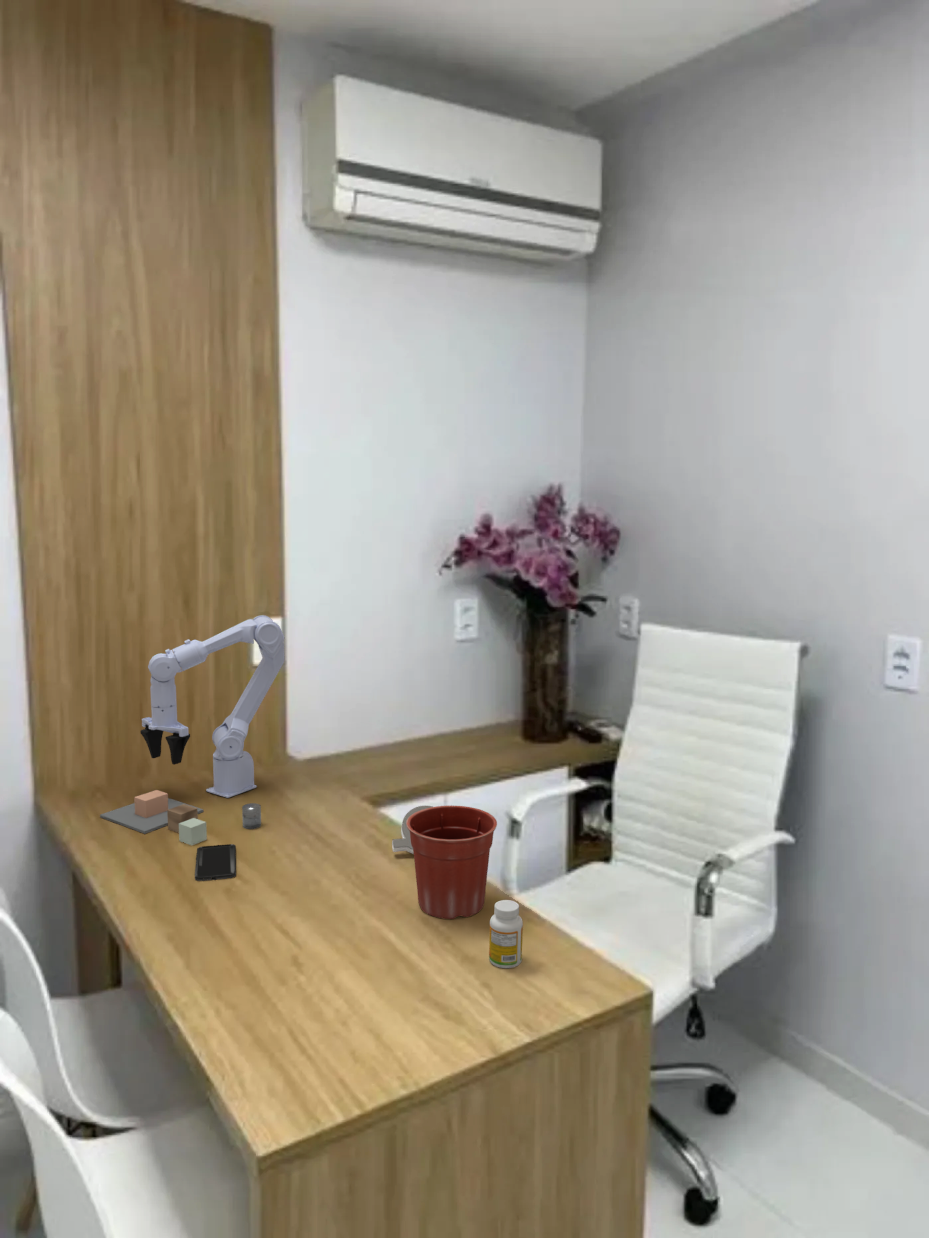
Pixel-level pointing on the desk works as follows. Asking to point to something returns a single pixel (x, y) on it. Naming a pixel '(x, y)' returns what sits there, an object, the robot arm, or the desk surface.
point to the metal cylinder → (251, 816)
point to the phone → (215, 862)
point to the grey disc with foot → (406, 833)
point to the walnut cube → (180, 816)
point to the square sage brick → (192, 831)
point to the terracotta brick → (151, 803)
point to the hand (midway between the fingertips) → (166, 760)
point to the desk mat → (139, 823)
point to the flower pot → (451, 858)
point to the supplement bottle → (506, 935)
